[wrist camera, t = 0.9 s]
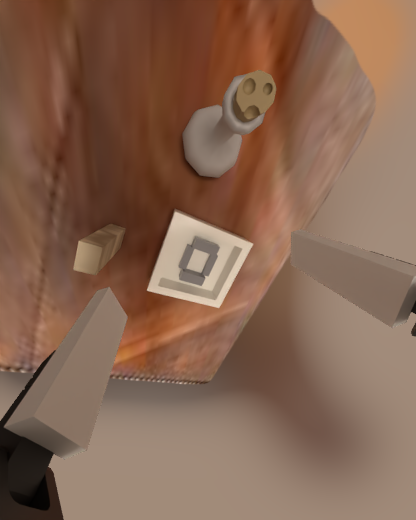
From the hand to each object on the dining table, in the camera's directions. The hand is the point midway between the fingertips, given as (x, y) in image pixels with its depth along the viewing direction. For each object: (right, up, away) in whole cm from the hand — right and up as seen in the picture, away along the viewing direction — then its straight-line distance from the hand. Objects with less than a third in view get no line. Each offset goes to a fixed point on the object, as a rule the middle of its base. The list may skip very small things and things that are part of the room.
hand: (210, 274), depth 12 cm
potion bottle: (0, +20, +16) cm, 25 cm away
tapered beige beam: (-17, +5, +18) cm, 26 cm away
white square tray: (-2, +1, +23) cm, 23 cm away
